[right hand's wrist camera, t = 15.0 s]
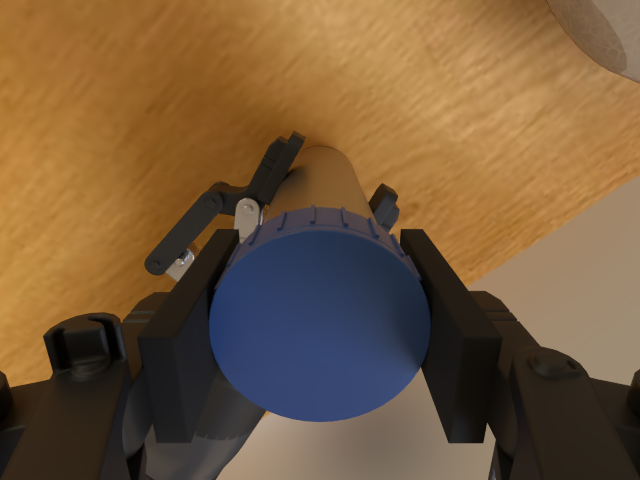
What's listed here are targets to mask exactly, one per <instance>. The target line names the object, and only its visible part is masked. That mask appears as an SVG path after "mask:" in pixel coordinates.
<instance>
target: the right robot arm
mask: <svg viewBox="0 0 640 480" xmlns="http://www.w3.org/2000/svg"><path fill="white" fill-rule="evenodd" d="M238 243H240V238H239V229H217V230H216V231H215V233H214V234H213V236H212V237H211V238H210V240H209V241H208V242H207V244H206V245H205V246H204V248H203V249H202V250H201V252H200V253H199V254H198V256H197V257H196V258H195V260H194V261H193V262H192V264H191V265H190V266H189V268H188V269H187V270H186V272H185V273H184V274H183V276H182V277H181V279H180V280H179V281H178V283H177V284H176V285H175V287H174V288H173V289H172V291H171V292H154V293H153V294H151V295H149V296H148V297H146V298H144V299H143V300H141V301H139V303H138V304H137V305H136V306H135V307H134V308H133V310H132V311H131V313H130V314H128V315H127V317H126V318H125V319H124V320H123V323H121V322H120V318H118V317H117V316H115V315H114V314H109V313H89V314H84V315H79V316H75V317H73V318H70V319H67V320H65V321H62V322H60V323H59V324H57V325H55V326H54V327H52V328H50V329H49V330H48V331H47V332H46V333H45V335H44V336H43V338H44V341H45V345H46V348H47V352H48V355H49V359H50V362H51V366H52V370H53V374H52V376H51V378H50V379H49V380H45V381H41V382H36V383H31V384H26V385H21V386H16V387H11V388H10V387H9V384H8V381H7V378H6V375H5V374H4V373H2V372H1V371H0V480H145V472H146V464H147V453H146V447H145V442H144V440H145V438H146V436H147V434H148V432H149V430H150V428H151V426H152V424H153V427H154V432H155V438H156V443H191V442H192V439H193V436H194V434H195V431H196V428H197V425H198V423H199V420H200V417H201V415H202V412H203V409H204V406H205V404H206V401H207V398H208V395H209V393H210V390H211V387H212V385H213V382H214V379H215V376H216V374H217V371H218V368H219V366H218V364H217V362H216V360H215V357H214V354H213V351H212V348H211V343H210V335H209V325H208V319H209V312H210V306H211V303H212V300H213V296H214V294H215V292H213V291H214V288H215V286H216V284H217V282H218V280H219V279H220V277H221V275H222V273H223V271H224V269H225V267H226V265H227V263H228V261H229V259H230V257H231V256H232V254H233V252H234V250H235V248H236V246H237V245H238ZM400 247H401V248H402V250H403V252H404V253H405V255H406V256H408V255H409V256H410V258H411V260H412V262H413V264H414V266H415V267H416V269H417V271H418V273H419V275H420V277H421V279H422V280H421V281H419V282H420V284H421V286H422V288H423V290H424V292H425V295H426V297H427V300H428V304H429V308H430V313H431V332H430V341H429V348H428V351H427V353H426V356H425V359H424V361H423V363H422V365H421V369H422V371H423V374H424V377H425V380H426V382H427V385H428V388H429V391H430V393H431V396H432V399H433V402H434V404H435V407H436V410H437V412H438V415H439V418H440V421H441V423H442V426H443V429H444V432H445V434H446V437H447V440H448V443H483V442H484V436H485V431H486V425H487V423H488V425H489V427H490V429H491V431H492V433H493V435H494V437H495V439H496V442H495V447H494V452H493V457H492V462H491V467H490V472H489V477H488V480H494V479H495V478H496V480H640V369H639V370H638V371H637V372H635V374H634V377H633V380H632V383H631V386H628V385H623V384H618V383H613V382H608V381H603V380H598V379H594V378H590V377H589V375H588V373H587V372H586V370H585V369H584V368H583V367H582V366H581V364H580V363H578V362H577V361H575V360H574V359H573V358H571V357H570V356H568V355H566V354H563V353H561V352H559V351H557V350H553V349H549V348H545V347H541V346H540V345H539V344H538V343H537V342H536V341H535V339H534V338H533V337H532V336H531V335H530V334H529V332H528V331H527V330H526V329H525V328H524V327H523V326H522V324H521V323H520V322H519V321H517V319H516V317H515V316H514V315H513V314H512V313H511V312H509V309H508V308H507V307H506V306H505V305H504V304H503V302H502V301H501V300H500V299H498V298H496V297H494V296H493V295H491V294H490V293H488V292H486V291H468V290H467V288H466V287H465V286H464V284H463V283H462V282H461V280H460V279H459V278H458V276H457V275H456V273H455V272H454V271H453V269H452V268H451V267H450V265H449V264H448V263H447V261H446V260H445V259H444V257H443V256H442V255H441V253H440V252H439V251H438V249H437V248H436V247H435V245H434V244H433V243H432V241H431V240H430V239H429V237H428V236H427V234H426V233H425V232H424V230H423V229H401V234H400Z"/></svg>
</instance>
